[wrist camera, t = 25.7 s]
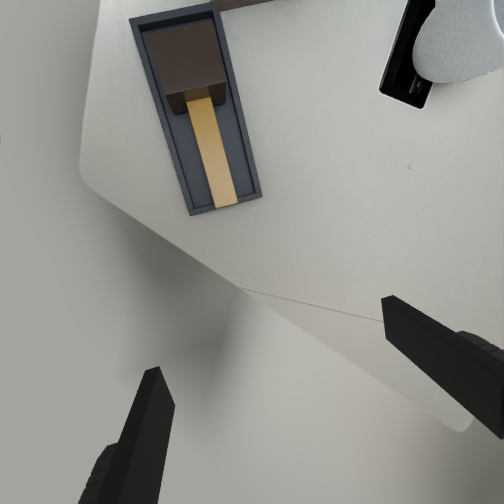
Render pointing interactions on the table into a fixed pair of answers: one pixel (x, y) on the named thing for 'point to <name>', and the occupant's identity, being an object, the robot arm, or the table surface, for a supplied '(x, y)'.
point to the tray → (180, 125)
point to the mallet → (197, 95)
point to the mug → (460, 40)
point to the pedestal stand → (236, 3)
